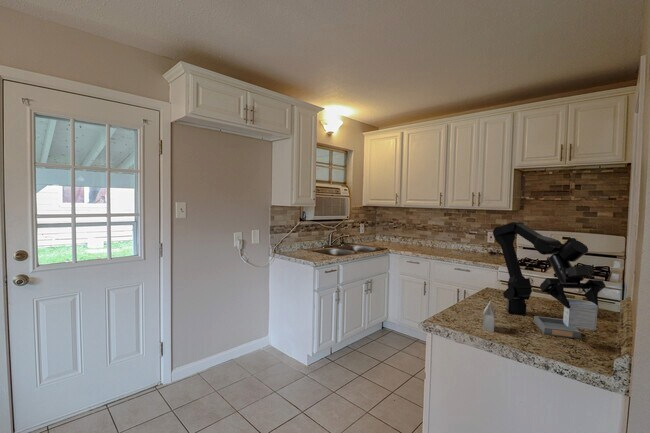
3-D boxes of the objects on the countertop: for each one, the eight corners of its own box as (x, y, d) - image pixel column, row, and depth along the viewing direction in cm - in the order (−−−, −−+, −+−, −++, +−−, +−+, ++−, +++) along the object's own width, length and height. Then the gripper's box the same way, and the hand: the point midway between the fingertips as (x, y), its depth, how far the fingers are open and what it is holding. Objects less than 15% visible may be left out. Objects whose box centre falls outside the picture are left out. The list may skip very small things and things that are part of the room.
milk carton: (482, 330, 119) (483, 304, 119) (483, 324, 125) (484, 299, 124) (493, 332, 117) (494, 305, 117) (494, 326, 123) (495, 301, 123)
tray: (544, 334, 116) (544, 328, 115) (533, 321, 128) (534, 315, 128) (580, 339, 112) (581, 332, 112) (566, 325, 124) (566, 319, 124)
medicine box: (589, 326, 108) (591, 301, 108) (596, 331, 104) (598, 305, 103) (562, 322, 111) (564, 298, 110) (567, 327, 106) (569, 302, 106)
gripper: (546, 255, 111) (566, 296, 100) (603, 257, 109) (629, 298, 99) (532, 272, 119) (549, 311, 109) (585, 274, 117) (607, 313, 107)
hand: (583, 308), depth 106 cm, fingers closed on medicine box, 8 cm apart
